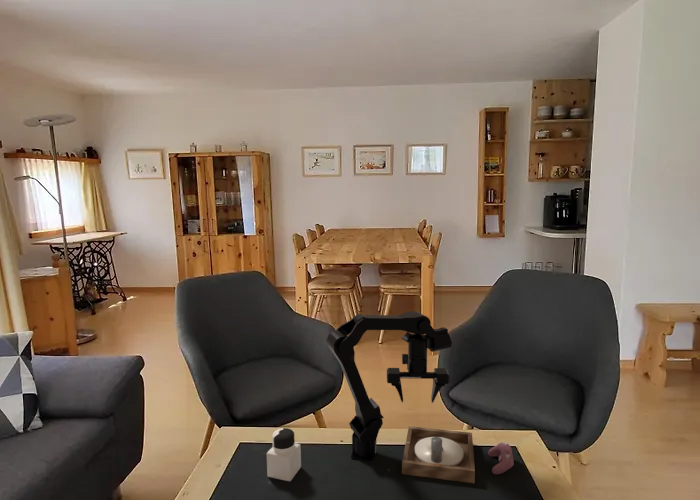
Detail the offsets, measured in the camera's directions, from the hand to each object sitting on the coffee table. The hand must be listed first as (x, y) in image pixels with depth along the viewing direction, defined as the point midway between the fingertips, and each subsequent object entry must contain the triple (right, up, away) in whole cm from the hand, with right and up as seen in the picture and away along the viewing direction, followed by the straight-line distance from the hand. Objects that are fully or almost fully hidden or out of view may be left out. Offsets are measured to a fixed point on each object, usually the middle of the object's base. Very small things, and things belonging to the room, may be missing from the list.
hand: (417, 401), depth 139 cm
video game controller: (+22, -15, -11) cm, 29 cm away
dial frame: (+5, -14, -7) cm, 17 cm away
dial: (+5, -13, -7) cm, 16 cm away
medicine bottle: (-39, -16, -13) cm, 44 cm away
